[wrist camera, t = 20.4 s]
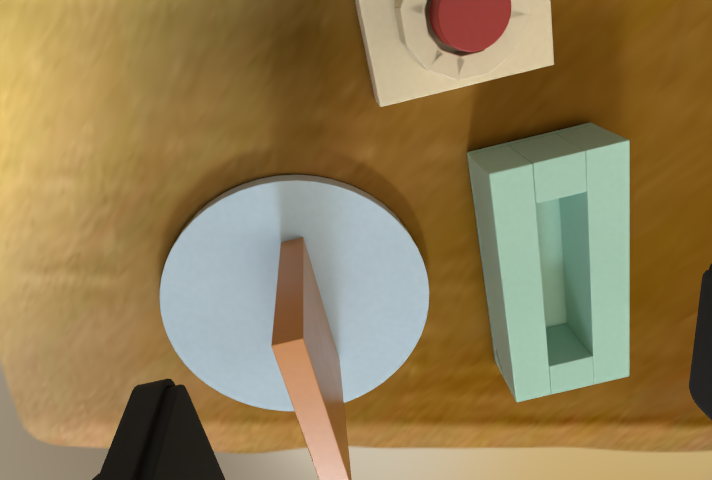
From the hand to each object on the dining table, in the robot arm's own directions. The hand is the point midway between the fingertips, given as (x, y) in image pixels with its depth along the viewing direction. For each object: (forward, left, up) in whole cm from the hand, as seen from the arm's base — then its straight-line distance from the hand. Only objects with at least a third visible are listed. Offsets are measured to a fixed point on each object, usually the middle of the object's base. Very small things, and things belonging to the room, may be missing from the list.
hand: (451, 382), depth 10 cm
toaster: (+11, -13, -25) cm, 30 cm away
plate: (-6, -12, -25) cm, 28 cm away
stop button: (+7, +4, -21) cm, 23 cm away
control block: (+7, +4, -25) cm, 26 cm away
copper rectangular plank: (-5, -12, -24) cm, 27 cm away
